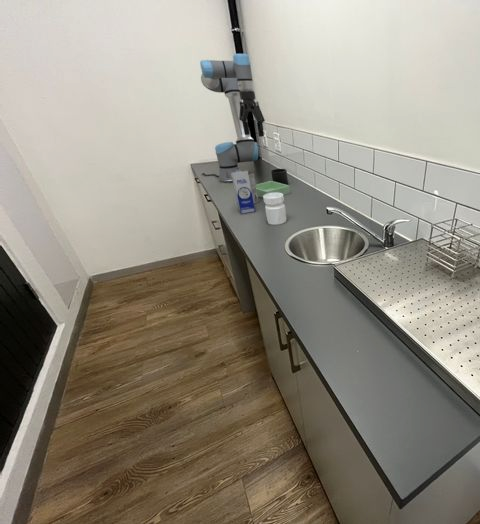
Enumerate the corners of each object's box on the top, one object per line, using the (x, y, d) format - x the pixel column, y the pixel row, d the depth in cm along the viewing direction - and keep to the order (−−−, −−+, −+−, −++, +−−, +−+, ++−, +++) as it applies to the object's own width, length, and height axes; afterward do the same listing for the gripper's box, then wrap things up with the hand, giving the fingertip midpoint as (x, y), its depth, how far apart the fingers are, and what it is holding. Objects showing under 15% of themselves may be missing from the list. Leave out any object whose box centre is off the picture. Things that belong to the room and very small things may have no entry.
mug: (286, 181, 194) (284, 167, 190) (289, 185, 185) (287, 171, 180) (271, 182, 191) (269, 168, 187) (274, 187, 182) (272, 172, 177)
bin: (250, 193, 171) (248, 186, 169) (272, 187, 181) (271, 180, 179) (268, 199, 161) (266, 191, 159) (290, 193, 171) (289, 185, 169)
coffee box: (237, 203, 157) (231, 172, 149) (245, 199, 162) (239, 170, 154) (252, 205, 154) (246, 174, 146) (259, 201, 159) (254, 171, 151)
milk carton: (240, 214, 142) (231, 172, 132) (238, 210, 148) (229, 169, 138) (255, 211, 145) (247, 170, 135) (252, 207, 150) (245, 167, 140)
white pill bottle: (277, 226, 129) (273, 199, 123) (263, 222, 133) (258, 196, 127) (290, 219, 135) (287, 194, 129) (276, 216, 139) (273, 191, 133)
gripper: (227, 91, 155) (235, 134, 166) (254, 90, 141) (261, 138, 151) (240, 91, 160) (247, 133, 170) (267, 90, 146) (273, 136, 156)
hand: (254, 135), depth 161 cm, fingers open, 13 cm apart
